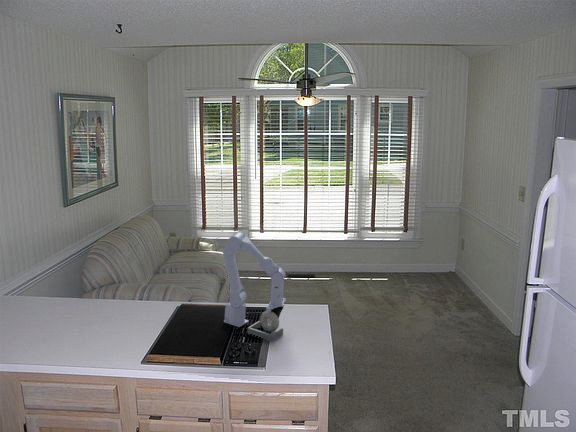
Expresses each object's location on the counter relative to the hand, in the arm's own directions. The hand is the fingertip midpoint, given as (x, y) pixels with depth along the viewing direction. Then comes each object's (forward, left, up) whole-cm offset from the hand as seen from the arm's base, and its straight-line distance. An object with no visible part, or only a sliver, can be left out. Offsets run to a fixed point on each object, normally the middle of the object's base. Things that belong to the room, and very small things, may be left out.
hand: (275, 320), depth 242 cm
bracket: (0, -9, -3) cm, 9 cm away
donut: (0, -5, -4) cm, 6 cm away
